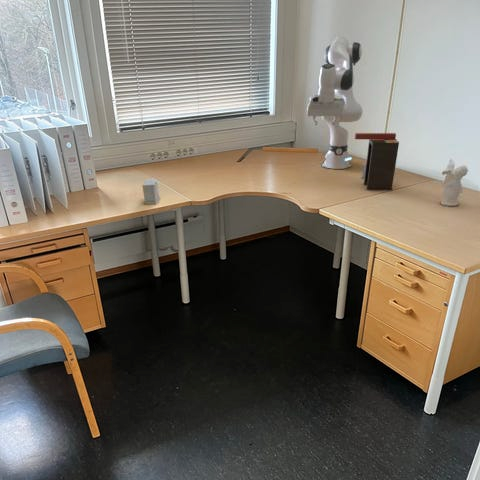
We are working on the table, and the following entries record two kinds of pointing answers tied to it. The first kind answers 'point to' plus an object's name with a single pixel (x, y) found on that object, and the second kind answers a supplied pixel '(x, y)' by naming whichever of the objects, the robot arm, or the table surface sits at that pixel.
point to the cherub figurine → (452, 183)
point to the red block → (375, 135)
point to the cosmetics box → (151, 191)
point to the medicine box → (364, 171)
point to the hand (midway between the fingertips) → (324, 124)
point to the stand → (381, 164)
